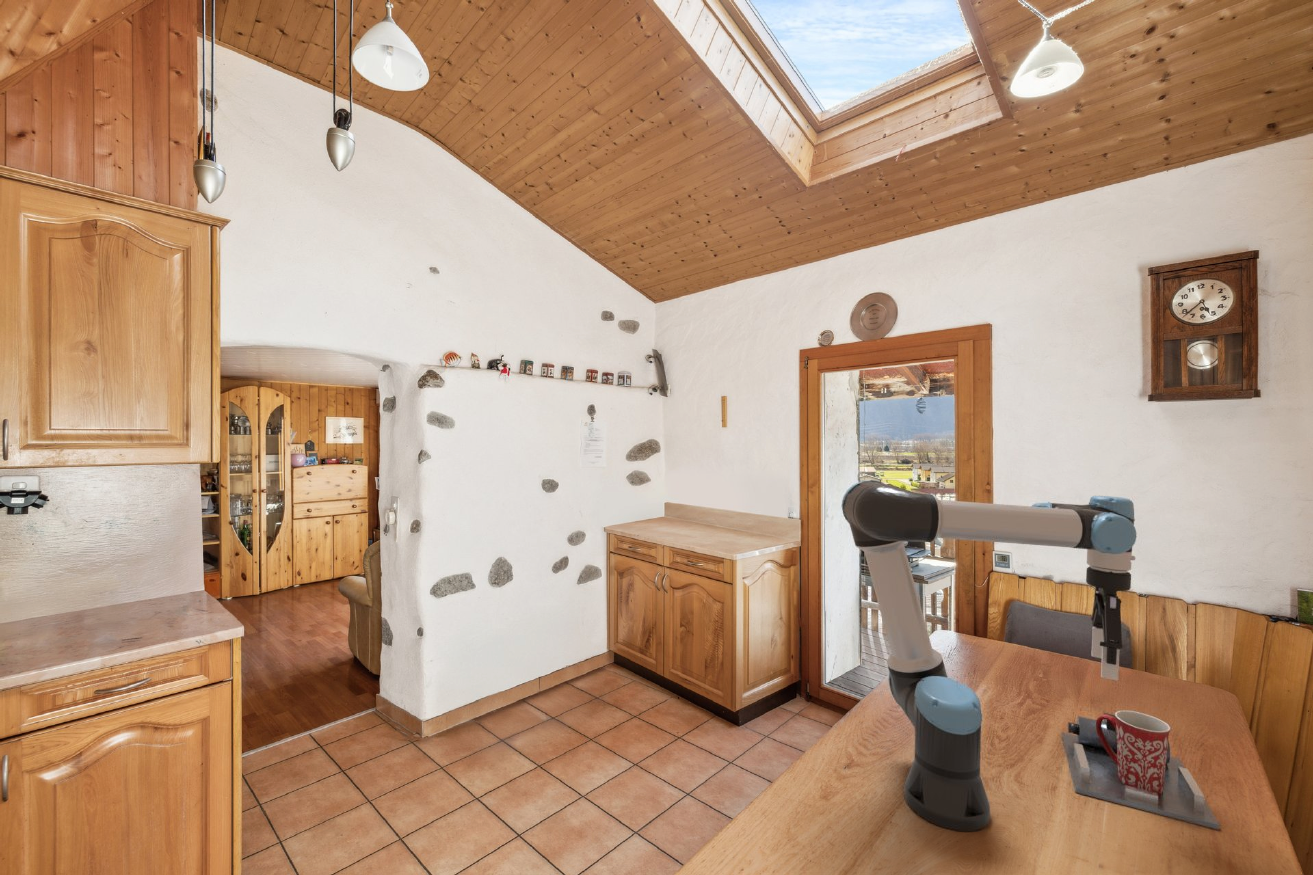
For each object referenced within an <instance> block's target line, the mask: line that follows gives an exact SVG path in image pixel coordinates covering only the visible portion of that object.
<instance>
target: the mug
mask: <svg viewBox="0 0 1313 875" xmlns="http://www.w3.org/2000/svg"><path fill="white" fill-rule="evenodd" d="M1114 715H1115V717H1116V718H1114V717H1112V716H1110V715H1104V714H1102V715H1099V716H1098V717H1097V719H1095V720H1096V730H1097V734H1098V736H1099V739H1100V741H1101V742H1102V744H1103V746H1104V748H1105V749H1106V751H1107V752H1108V754H1109V755H1110V757H1111V758H1112V760H1113V761H1114V762H1115V764H1116V765H1117V767H1118V778H1119V780H1120V781H1121V782H1122V783H1123V784H1125V785H1126V786H1130V787H1134V788H1138V789H1142V790H1146V791H1150V792H1154V793H1157V794H1161V793H1162V792H1163V788H1164V777H1165V768H1166V757H1167V747H1168V740H1169V736H1170V731H1171V727H1170V725H1169V724H1168V723H1167V722H1165V721H1163V720H1162V719H1160V718H1157V717H1155V716H1154V715H1153V716H1152V715H1150V714H1146V713H1142V712H1138V711H1134V710H1118V711H1116V712H1114ZM1104 719H1107V720H1109V721H1110V722H1111V723H1112V724H1113V725H1114V727H1115V730H1116V733H1117V755H1116V754H1115V752H1114V751H1113V749H1112V748H1111V746H1110V745H1109V743H1108V741H1107V740H1106V738H1105V736H1104V734H1103V731H1102V727H1101V723H1102V721H1104Z"/></svg>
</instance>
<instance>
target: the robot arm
mask: <svg viewBox="0 0 1313 875" xmlns="http://www.w3.org/2000/svg"><path fill="white" fill-rule="evenodd" d="M841 510H842V514H843V517H844V518H845V520H846V522H847V523H848V524H849V528H850V530H851V533H852V538H853V542H854V544H855V545H854V546H855V547H856V548H858V549H860V550H861V551H863V552H864V556H865V560H866V563H867V567H868V571H869V574H870V575H869V576H870V578H871V582H872V586H873V590H874V593H875V597H876V600H877V604H878V608H879V612H880V616H881V619H882V622H883V627H884V630H885V635H886V638H887V641H888V644H889V649H890V655H889V656H888V658H887V659H886V664H887V668H888V672H889V673H888V686H889V690H890V692H891V694H892V697H893V699H894V701H895V702H896V703H897V704H898V706H899V707H901V709H902V711H903V712H904V714H905V715H906V717H907V718H908V719H909V722H910V723H911V724H912V726H913V728H914V759H913V762H912V764H911V766H910V770H909V771H908V773H907V777H906V779H905V783H904V799H905V802H906V804H907V805H908V807H909V808H910V809H911V810H912V811H913V812H914V813H915V814H916V815H918V816H920V817H921V818H922V819H924V820H926V821H928V822H930V823H932V824H934V825H936V826H939V827H941V828H944V829H948V830H952V831H959V832H974V831H979V830H982V829H984V828H985V827H987V825H989V823H990V821H991V807H990V802H989V799H988V796H987V793H986V790H985V787H984V783H983V779H982V777H981V747H982V746H981V745H982V722H983V713H982V708H981V706H982V705H981V701H980V700H981V699H979V698H980V697H979V696H978V695H977V693H976V692H975V691H974V690H973V689H972V688H970V687H969V686H968V685H966V684H965V683H962V682H958V680H956V679H954V678H951V677H948V673H947V669H946V666H945V664H944V659H943V655H942V654H941V653H940V651H939V652H938V651H937V650H935V649H934V648H933V647H932V643H931V640H930V636H929V632H928V628H927V625H926V621H925V618H924V614H923V610H922V607H921V602H920V599H919V595H918V591H917V588H916V584H915V580H914V577H913V573H912V569H911V565H910V562H909V558H908V554H907V550H906V547H905V544H906V542H915V543H916V542H919V543H920V542H921V543H933V542H935V541H936V540H937V539H949V540H950V539H951V540H961V541H962V540H963V541H964V540H965V541H979V542H992V543H993V542H994V543H1004V544H1005V543H1006V544H1016V545H1017V544H1018V545H1029V546H1030V545H1031V546H1032V545H1033V546H1045V547H1047V546H1048V547H1060V548H1070V549H1071V548H1072V549H1078V550H1079V549H1081V550H1086V551H1087V552H1086V564H1087V565H1088V566H1087V567H1086V578H1085V579H1086V580H1085V582H1086V584H1087V585H1089V586H1091V587H1093V588H1094V589H1095V590H1094V595H1093V597H1094V599H1093V606H1092V607H1093V608H1092V612H1091V617H1090V619H1091V621H1092V622H1091V624H1092V637H1091V652H1090V653H1091V657H1092V658H1096V659H1101V664H1100V665H1101V668H1100V669H1101V670H1100V677H1101V678H1103V679H1108V680H1112V681H1119V673H1120V670H1119V669H1120V653H1121V652H1120V649H1122V648H1123V647H1124V646H1123V638H1122V615H1121V612H1122V611H1121V610H1122V608H1121V607H1122V605H1121V603H1122V600H1121V598H1119V596H1118V594H1117V593H1118V592H1120V591H1121V592H1127V591H1130V590H1131V587H1132V586H1131V585H1132V584H1131V583H1132V574H1131V572H1130V571H1131V570H1132V561H1136V556H1135V555H1133V553H1132V552H1133V547H1134V545H1135V544H1136V542H1137V530H1136V527H1135V520H1136V519H1135V504H1134V502H1133V501H1132V500H1131V499H1130V498H1126V497H1119V496H1109V495H1107V496H1106V495H1093V496H1091V497H1090V498H1089V502H1088V504H1071V503H1057V502H1056V503H1055V502H1049V501H1048V502H1036V503H1034V504H1033V503H1032V505H1030V506H1029V505H1013V504H1003V503H1002V504H1000V503H986V502H985V503H984V502H974V501H962V500H961V501H960V500H959V501H958V500H946V499H945V500H944V499H939V498H938V497H937V496H936V495H935V494H934V493H933V494H932V493H922V492H921V493H920V492H915V491H910V490H906V489H903V488H900V487H897V486H894V485H891V484H886V483H884V482H882V481H879V480H875V479H871V480H862V481H859V482H856V483H854V484H852V485H851V486H850V487H849V488H848V489H847V490H846V492H845V493H844V495H843V498H842V502H841Z"/></svg>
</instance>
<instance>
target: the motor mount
mask: <svg viewBox="0 0 1313 875" xmlns="http://www.w3.org/2000/svg"><path fill="white" fill-rule="evenodd" d="M1103 715H1110V716H1112V717H1114V718H1116V717H1115V714H1112V713H1107V712H1106V713H1105V712H1103ZM1076 719H1077V721H1076V723H1073V722H1070V721H1068V722H1067V733H1065V732H1061V736H1060V737H1061V741H1062V744H1063V747H1064V748H1063V749H1064V752H1065V757H1066V760H1067V764H1068V769H1069V772H1070V777H1071V779H1072V784H1073V788H1074V792H1075V793H1076V794H1080V795H1083V796H1087V797H1091V798H1095V799H1099V800H1103V801H1107V802H1111V803H1113V804H1118V805H1121V806H1126V807H1129V808H1133V809H1137V810H1141V811H1144V812H1148V813H1153V814H1157V815H1159V816H1163V817H1167V818H1171V819H1175V820H1177V821H1178V820H1179V821H1183V822H1187V823H1191V824H1195V825H1198V826H1203V827H1205V828H1209V829H1213V830H1217V831H1220V824H1219V822H1218V820H1217V818H1216V817H1215V815H1214V814H1213V812H1212V810H1211V809H1210V807H1209V805H1208V803H1207V802H1206V799H1205V796H1204V795H1205V794H1204V793H1203V792H1202V789H1200V787H1199V785H1198V784H1197V782H1196V780H1195V779H1194V777H1193V775H1192V774H1191V772H1190V770H1189V769H1188V768H1186V767H1185V766H1184V764H1183V762H1182V760H1181V759H1180V758H1178V757H1173V756H1171V747H1170V741H1169V739H1168V747H1167V757H1166V768H1165V777H1164V788H1163V792H1162V793H1161V794H1157V793H1154V792H1150V791H1146V790H1142V789H1138V788H1134V787H1130V786H1126V785H1125V784H1123V783H1122V782H1121V781H1120V780H1119V778H1118V767H1117V765H1116V764H1115V762H1114V761H1113V760H1112V758H1111V757H1110V755H1109V754H1108V752H1107V751H1106V749H1105V748H1104V746H1103V744H1102V742H1101V741H1100V739H1099V736H1098V734H1097V730H1096V720H1097V719H1094V718H1088V717H1084V716H1079V715H1078V716H1077V718H1076ZM1101 727H1102V731H1103V734H1104V736H1105V738H1106V740H1107V741H1108V743H1109V745H1110V746H1111V748H1112V749H1113V751H1114V752H1115V754H1116V755H1117V733H1116V730H1115V727H1114V725H1113V724H1112V723H1111V722H1110V721H1109V720H1107V719H1103V720H1102V723H1101Z"/></svg>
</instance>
